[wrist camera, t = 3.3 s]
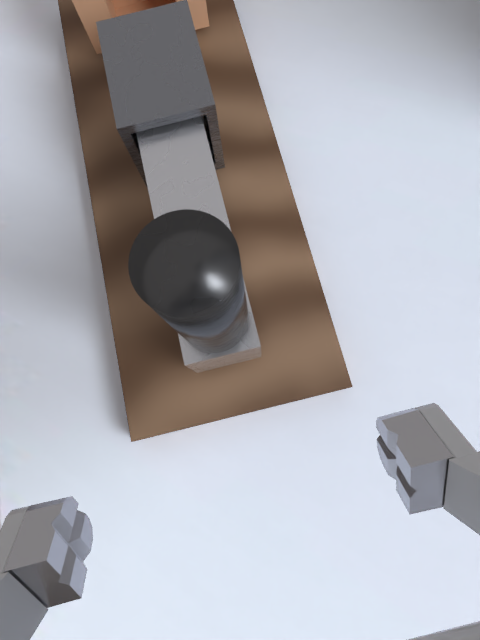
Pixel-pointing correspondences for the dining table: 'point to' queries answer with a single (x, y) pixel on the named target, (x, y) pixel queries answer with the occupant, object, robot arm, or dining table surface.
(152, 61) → the metal sleeve
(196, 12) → the socket block
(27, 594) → the robot arm
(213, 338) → the grey piece
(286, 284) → the walnut board
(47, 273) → the dining table surface
